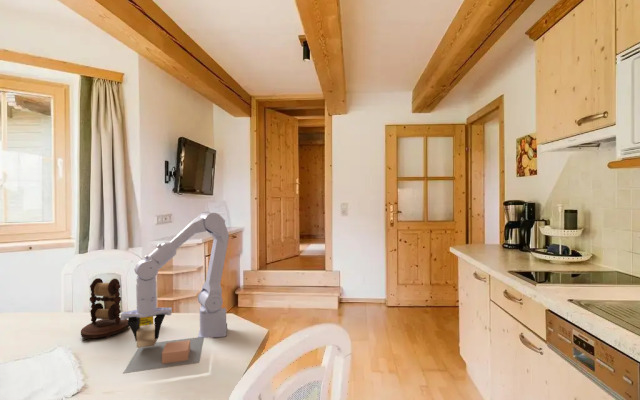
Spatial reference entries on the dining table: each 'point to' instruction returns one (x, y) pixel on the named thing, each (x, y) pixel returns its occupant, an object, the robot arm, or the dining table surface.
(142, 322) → the supplement bottle
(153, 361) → the build board
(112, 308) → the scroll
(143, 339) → the beech cube
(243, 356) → the dining table surface
